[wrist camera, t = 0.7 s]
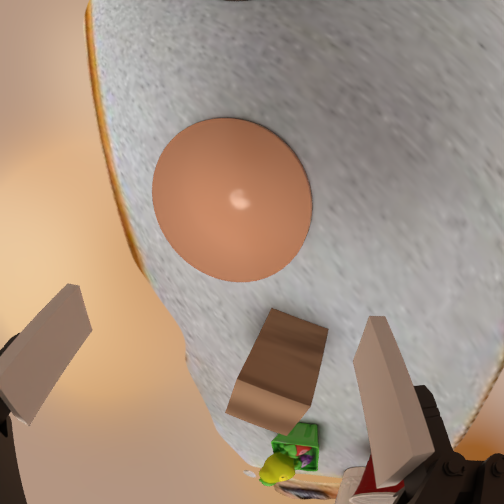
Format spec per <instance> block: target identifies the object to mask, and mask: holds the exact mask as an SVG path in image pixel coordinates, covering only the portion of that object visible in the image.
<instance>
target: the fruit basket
mask: <svg viewBox="0 0 504 504" xmlns="http://www.w3.org/2000/svg"><path fill="white" fill-rule="evenodd" d="M271 444H272V448H273V453H274V454H273V455H271V456H270V457H268V458H267V460H266V461H265V463H264V466H263V467H262V469H261V470H260V472H259V475H260V478H261V479H259V481H260V482H262V484H263V485H266V486H272V485H274V484H276V483H277V482H281V481H285V480H289V479H291V478H292V477H293V476H294V475H295V470H305V471H317V470H318V458H319V444H318V432H317V425H316V424H311V425H310V424H306V423H297V424H296V425H295V427H294V428H293V429H292V430H291V431H290V433H289V434H288V435H287V436H285V435H282V434H278V435H277V436H276V437H275V438H274V439H273V440H272V442H271Z"/></svg>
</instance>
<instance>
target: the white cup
mask: <svg viewBox="0 0 504 504" xmlns="http://www.w3.org/2000/svg"><path fill="white" fill-rule="evenodd" d="M365 468H366V467H354V468H349V469H347V470H346V471H345V472H344V475H343V479H342V482H341V485H340V488H339V491H338V494H337V498H336V501H335V504H353V503H350V501H349V499H350V497H352V496H353V494H354V493H355V491H356V490H357V488H358V486H359V484H360V481H361V479H362V476H363V473H364V471H365Z"/></svg>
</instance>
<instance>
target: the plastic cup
mask: <svg viewBox="0 0 504 504" xmlns="http://www.w3.org/2000/svg"><path fill="white" fill-rule="evenodd" d="M404 486H405V485H404V480H402V481H401V482H399V483H398V484H397V485H395V486H389V487H384V488H377V487H376V480H375V473H374V466H373V460H372V454H371V455H370V458H369V461H368V462H367V465H366V468H365V471H364V473H363V476H362V479H361V481H360V484H359V486H358V488H357V490H356V491H355V493H354V494H353V496H352V497H350V499H349V501H350V503H353V504H393V502H394V501H395V499H396V498H397V496H396V497H393V495H394V494H395V493H396V492H398V491H399V490H400V489H402V488H403V487H404Z"/></svg>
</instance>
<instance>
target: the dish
mask: <svg viewBox="0 0 504 504" xmlns="http://www.w3.org/2000/svg"><path fill="white" fill-rule="evenodd" d="M152 197H153V205H154V210H155V214H156V217H157V221H158V223H159V225H160V228H161V230H162V232H163V234H164V236H165V237H166V239H167V240H168V242H169V243H170V245H171V246H172V247H173V249H174V250H175V251H176V252H177V253H178V254H179V255H180V256H181V257H182V258H183V259H184V260H185V261H186V262H188V263H189V264H190V265H191V266H193V267H194V268H196V269H198V270H199V271H201V272H203V273H205V274H207V275H209V276H212V277H214V278H217V279H221V280H225V281H231V282H250V281H257V280H260V279H264V278H267V277H269V276H271V275H273V274H275V273H277V272H278V271H280V270H281V269H283V268H284V267H285V266H286V265H287V264H289V263H290V262H291V260H292V259H293V258H294V257H295V256H296V255H297V253H298V251H299V250H300V248H301V247H302V245H303V242H304V240H305V238H306V235H307V233H308V231H309V227H310V223H311V217H312V194H311V189H310V184H309V181H308V178H307V175H306V172H305V170H304V168H303V166H302V164H301V162H300V161H299V159H298V158H297V156H296V155H295V153H294V152H293V151H292V150H291V148H290V147H289V146H288V145H287V144H286V143H285V142H284V141H283V140H282V139H281V138H279V137H278V136H277V135H276V134H274V133H273V132H271V131H270V130H268V129H267V128H265V127H262V126H260V125H258V124H256V123H253V122H250V121H247V120H242V119H236V118H217V119H210V120H205V121H202V122H198V123H196V124H194V125H191V126H189V127H187V128H186V129H184V130H183V131H181V132H180V133H178V134H177V135H176V136H175V137H174V138H173V139H172V140H171V141H170V142H169V144H168V145H167V146H166V147H165V149H164V151H163V152H162V154H161V156H160V158H159V160H158V162H157V165H156V168H155V172H154V177H153V183H152Z"/></svg>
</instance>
